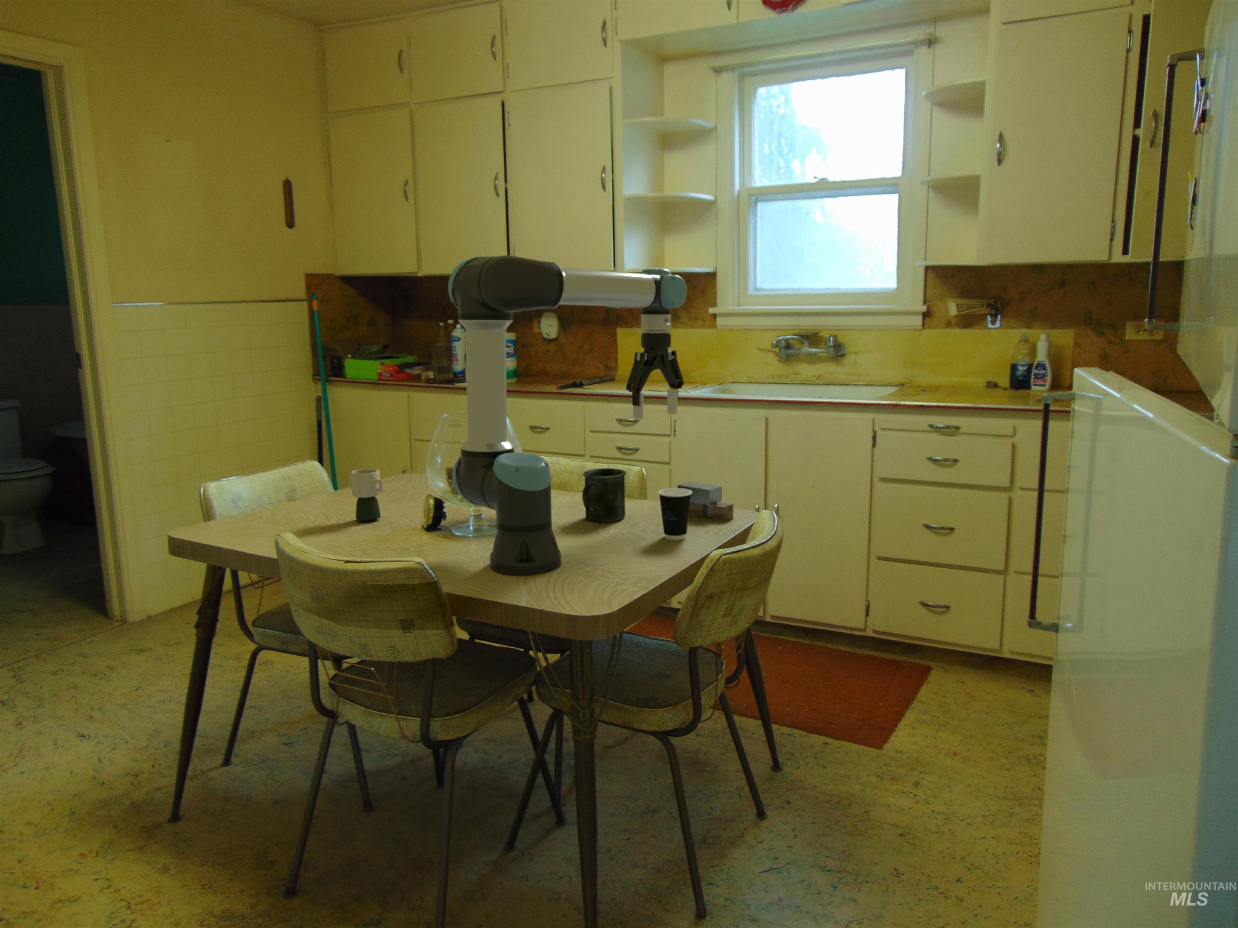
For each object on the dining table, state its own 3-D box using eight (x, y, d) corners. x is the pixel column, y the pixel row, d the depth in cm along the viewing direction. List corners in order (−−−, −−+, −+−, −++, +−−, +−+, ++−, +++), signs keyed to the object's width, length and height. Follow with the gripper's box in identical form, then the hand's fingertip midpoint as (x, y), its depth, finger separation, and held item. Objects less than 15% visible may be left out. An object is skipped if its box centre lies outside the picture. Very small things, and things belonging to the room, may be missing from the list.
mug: (635, 516, 232) (634, 470, 229) (603, 528, 220) (602, 480, 217) (600, 511, 237) (599, 466, 235) (567, 523, 225) (566, 476, 223)
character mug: (394, 519, 233) (390, 470, 230) (375, 525, 226) (371, 475, 224) (361, 515, 237) (358, 467, 235) (342, 521, 231) (338, 472, 229)
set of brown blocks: (724, 521, 224) (724, 507, 224) (667, 511, 236) (667, 497, 235) (733, 518, 227) (733, 504, 227) (676, 508, 239) (676, 494, 238)
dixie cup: (659, 541, 207) (658, 495, 205) (657, 532, 215) (657, 488, 213) (693, 541, 207) (693, 495, 205) (690, 532, 215) (690, 487, 213)
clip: (721, 514, 230) (721, 486, 229) (709, 518, 226) (709, 489, 225) (690, 509, 237) (690, 481, 235) (677, 513, 233) (677, 484, 231)
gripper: (634, 333, 212) (634, 422, 216) (698, 331, 231) (696, 412, 235) (611, 332, 217) (611, 419, 221) (675, 330, 236) (674, 410, 239)
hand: (655, 416), depth 228 cm, fingers open, 13 cm apart
